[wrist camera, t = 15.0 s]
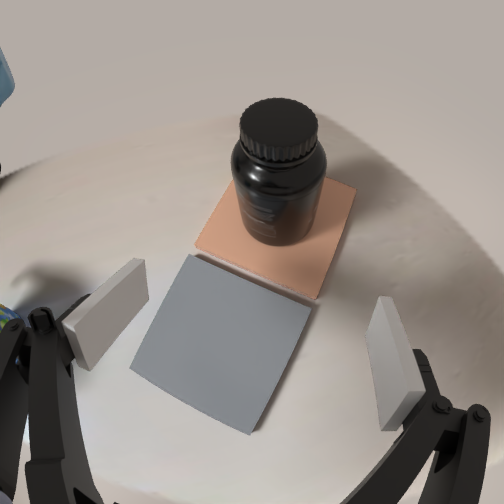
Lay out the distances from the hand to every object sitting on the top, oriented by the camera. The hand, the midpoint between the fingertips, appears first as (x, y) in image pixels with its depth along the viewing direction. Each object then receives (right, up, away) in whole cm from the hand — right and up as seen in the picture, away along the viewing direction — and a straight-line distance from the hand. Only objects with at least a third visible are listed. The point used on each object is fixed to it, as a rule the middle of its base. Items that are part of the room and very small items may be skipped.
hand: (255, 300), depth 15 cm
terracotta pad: (+3, +6, +13) cm, 14 cm away
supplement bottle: (+2, +6, +12) cm, 14 cm away
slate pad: (-3, -5, +9) cm, 11 cm away
